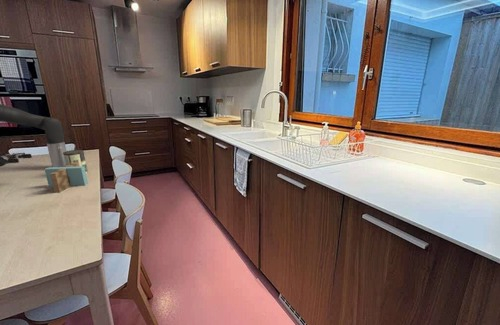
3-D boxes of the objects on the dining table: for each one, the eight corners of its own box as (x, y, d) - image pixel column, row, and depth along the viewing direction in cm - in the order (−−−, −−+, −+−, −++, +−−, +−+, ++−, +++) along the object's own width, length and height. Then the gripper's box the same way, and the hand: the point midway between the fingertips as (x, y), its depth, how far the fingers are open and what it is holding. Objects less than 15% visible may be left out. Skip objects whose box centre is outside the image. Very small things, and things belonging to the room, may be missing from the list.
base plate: (77, 179, 139) (74, 162, 136) (82, 178, 139) (78, 162, 137) (54, 192, 120) (49, 173, 117) (59, 192, 120) (55, 173, 117)
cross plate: (52, 184, 130) (48, 167, 127) (87, 183, 132) (84, 166, 129) (48, 187, 127) (44, 169, 124) (84, 185, 129) (81, 167, 126)
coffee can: (81, 170, 156) (77, 149, 152) (91, 172, 151) (87, 150, 147) (64, 174, 147) (58, 152, 143) (74, 177, 142) (69, 154, 139)
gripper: (-27, 156, 114) (11, 154, 116) (-1, 149, 128) (32, 147, 129) (-21, 171, 116) (15, 169, 118) (4, 162, 130) (36, 161, 132)
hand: (24, 158), depth 124 cm, fingers open, 8 cm apart
